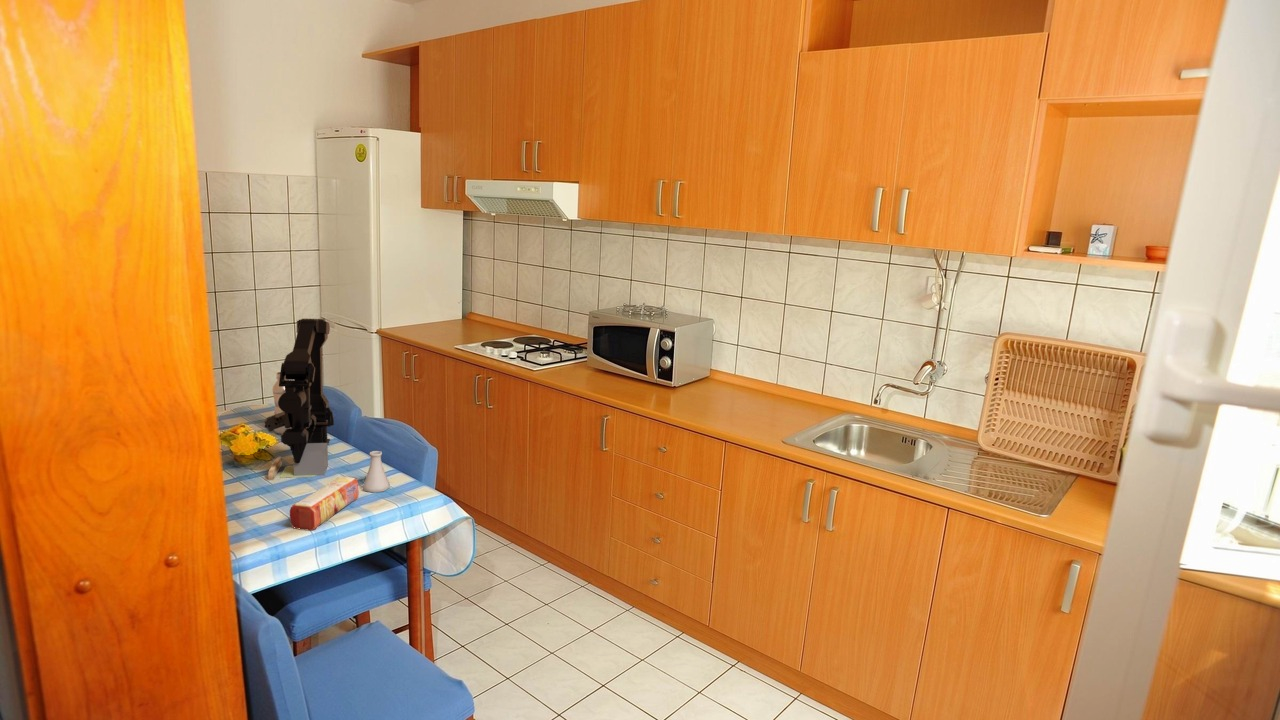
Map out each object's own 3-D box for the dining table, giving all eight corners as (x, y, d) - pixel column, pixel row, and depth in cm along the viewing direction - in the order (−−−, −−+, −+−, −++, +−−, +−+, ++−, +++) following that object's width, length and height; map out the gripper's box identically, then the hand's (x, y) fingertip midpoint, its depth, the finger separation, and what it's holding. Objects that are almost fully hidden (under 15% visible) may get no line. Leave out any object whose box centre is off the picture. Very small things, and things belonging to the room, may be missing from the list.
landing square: (286, 466, 208) (286, 466, 208) (320, 465, 211) (320, 464, 211) (280, 477, 200) (280, 477, 200) (315, 476, 202) (315, 475, 202)
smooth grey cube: (299, 467, 208) (298, 443, 207) (328, 466, 211) (327, 442, 209) (294, 476, 201) (293, 452, 200) (324, 475, 203) (323, 451, 202)
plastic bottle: (269, 434, 235) (266, 374, 231) (282, 429, 241) (280, 369, 238) (287, 436, 234) (285, 376, 230) (300, 431, 240) (298, 371, 237)
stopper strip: (277, 465, 209) (277, 456, 208) (281, 465, 209) (281, 456, 209) (268, 480, 198) (268, 471, 197) (272, 480, 198) (272, 471, 197)
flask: (384, 494, 193) (384, 457, 191) (357, 492, 193) (356, 456, 191) (394, 484, 200) (394, 449, 198) (367, 482, 200) (367, 447, 198)
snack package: (337, 496, 190) (337, 472, 189) (361, 499, 189) (361, 474, 188) (288, 530, 169) (287, 502, 168) (315, 533, 168) (314, 506, 167)
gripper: (273, 395, 208) (275, 447, 211) (258, 413, 190) (261, 470, 193) (315, 395, 211) (317, 446, 214) (305, 412, 193) (306, 468, 196)
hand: (300, 457), depth 204 cm, fingers open, 9 cm apart
